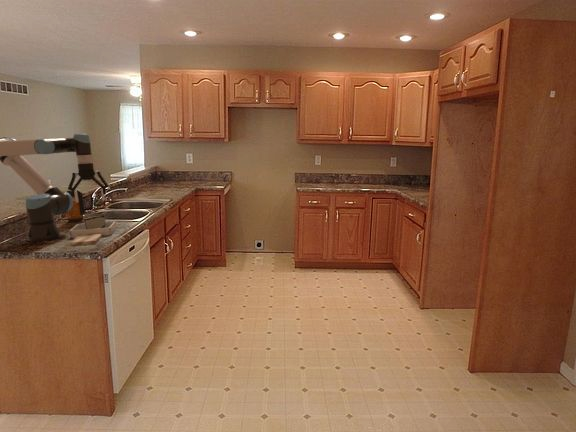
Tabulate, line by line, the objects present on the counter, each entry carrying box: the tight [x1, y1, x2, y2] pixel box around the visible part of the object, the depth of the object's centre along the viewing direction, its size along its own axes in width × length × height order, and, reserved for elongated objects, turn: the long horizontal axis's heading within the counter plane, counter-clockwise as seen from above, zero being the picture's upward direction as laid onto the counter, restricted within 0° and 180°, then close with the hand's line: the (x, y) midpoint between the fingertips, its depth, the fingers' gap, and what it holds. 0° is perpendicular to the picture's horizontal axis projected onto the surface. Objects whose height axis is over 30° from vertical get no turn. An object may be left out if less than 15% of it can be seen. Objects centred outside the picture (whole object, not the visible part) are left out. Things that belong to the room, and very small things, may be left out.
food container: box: [82, 213, 107, 229], centre depth 225 cm, size 12×6×10 cm, turn 141°
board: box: [69, 233, 103, 247], centre depth 210 cm, size 12×15×2 cm
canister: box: [66, 189, 86, 223], centre depth 256 cm, size 9×11×20 cm
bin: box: [68, 221, 117, 239], centre depth 226 cm, size 21×17×4 cm
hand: (90, 201), depth 223 cm, fingers open, 13 cm apart
